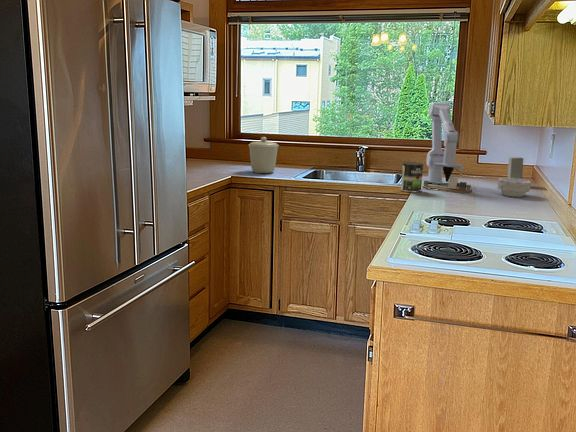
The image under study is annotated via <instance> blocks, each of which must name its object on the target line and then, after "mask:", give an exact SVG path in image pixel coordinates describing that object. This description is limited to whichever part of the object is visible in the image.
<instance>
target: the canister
mask: <svg viewBox="0 0 576 432" xmlns="http://www.w3.org/2000/svg"><path fill="white" fill-rule="evenodd" d="M267 139H268V138H267V137H266V136H261V137H260V141H251V142H250V143H249V144H248V145H247V146H248V147H249V159H250V167H251V170H252V172H253V173H255V172H256V174H261V173H267V174H272V173H274V171H275V168H276V163H277V155H278V149H279V146H280V145H279V144H278V143H277V142H274V141H267Z"/></svg>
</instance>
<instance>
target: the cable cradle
mask: <svg viewBox="0 0 576 432" xmlns="http://www.w3.org/2000/svg"><path fill="white" fill-rule="evenodd" d="M428 183H433V184H428ZM438 184H440V185H438ZM445 185H446V186H445ZM448 185H449V182H444V183H442V182H433V181H428V179H427V180H423V186H422V185H421V187H423V188H430V189H438V190H437V191H439V190H445V191H444V192H448V191H452V192H451V193H458V192H460V194H470V193H471V192H473V188H472V184H467V181H466V182H465V181H460V182H458V183H457V187H458V188H457V189H452V188H448ZM430 189H429V190H430Z"/></svg>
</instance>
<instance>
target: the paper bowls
mask: <svg viewBox="0 0 576 432" xmlns="http://www.w3.org/2000/svg"><path fill="white" fill-rule="evenodd" d="M531 184H532V182H531V181H530V180H527V179H523V178H522V179H516V178H508V177H499V178H498V182H497V189H499V190H500V193H501V194H502V195H503V196H506V197H510V198H511V197H515V198H521V197H525V194H527V193H528V192H529V193H530V192H531Z"/></svg>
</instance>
